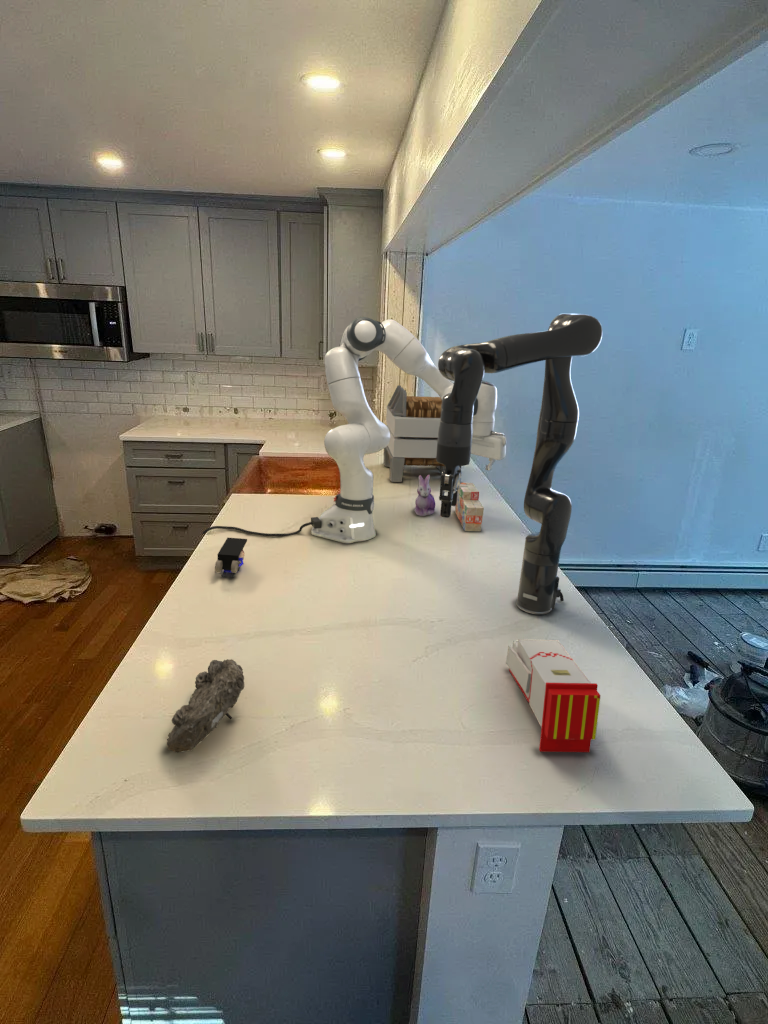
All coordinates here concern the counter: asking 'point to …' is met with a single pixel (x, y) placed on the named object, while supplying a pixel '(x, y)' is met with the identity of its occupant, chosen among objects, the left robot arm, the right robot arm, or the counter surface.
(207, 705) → the fossil
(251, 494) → the counter surface
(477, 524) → the stack of blocks
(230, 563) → the figurine character
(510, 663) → the toy
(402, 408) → the grey slatted crate
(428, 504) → the figurine
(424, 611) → the counter surface
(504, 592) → the counter surface
